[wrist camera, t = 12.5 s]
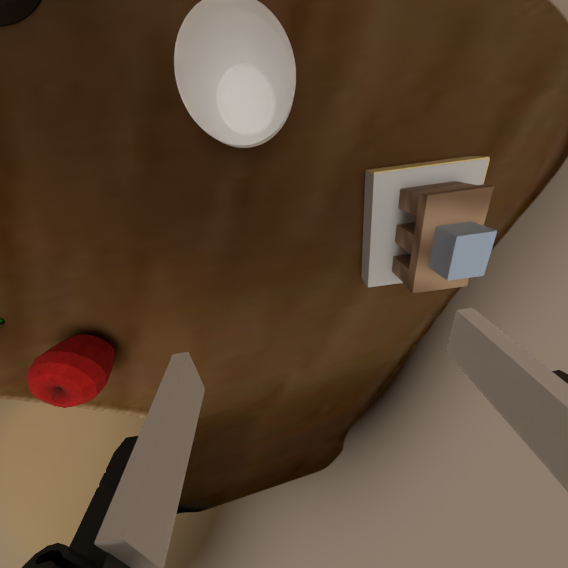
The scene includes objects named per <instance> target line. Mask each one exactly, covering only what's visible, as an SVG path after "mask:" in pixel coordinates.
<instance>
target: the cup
mask: <svg viewBox="0 0 568 568" xmlns="http://www.w3.org/2000/svg"><path fill="white" fill-rule="evenodd" d="M174 69H175V77H176V82H177V86H178V90H179V93H180V96H181V98H182V101H183V103H184V105H185V107H186V109H187V110H188V112H189V114H190V115H191V116H192V118H193V119H194V121H195V122H196V123H197V124H198V125H199V126H200V127H201V128H202V129H203V130H204V131H205V132H206V133H208V134H209V135H211V136H212V137H214V138H215V139H217V140H218V141H220V142H222V143H224V144H227V145H229V146H233V147H238V148H249V147H255V146H258V145H261V144H263V143H265V142H267V141H268V140H270V139H271V138H272V137H274V136H275V135H276V134H277V133H278V132H279V130H280V129H281V128H282V126H283V125H284V123H285V122H286V120H287V118H288V115H289V113H290V110H291V107H292V103H293V98H294V93H295V86H296V67H295V60H294V55H293V51H292V47H291V44H290V42H289V39H288V37H287V35H286V33H285V30H284V29H283V27H282V25H281V24H280V22H279V21H278V19H277V18H276V17H275V16H274V14H273V13H272V12H271V11H270V10H269V9H268V8H267V7H266V6H264V5H263V4H262V3H260V2H259V1H257V0H201V1H200V2H199V3H198V4H196V5H195V6H194V7H193V8H192V9H191V11H190V12H189V13H188V15H187V16H186V18H185V19H184V21H183V23H182V25H181V27H180V30H179V33H178V36H177V40H176V45H175V52H174Z"/></svg>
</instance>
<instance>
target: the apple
mask: <svg viewBox="0 0 568 568" xmlns="http://www.w3.org/2000/svg"><path fill="white" fill-rule="evenodd" d="M114 357H115V352H114V349H113V348H112V346H111V345H110V344H109V343H107V342H106V341H104V340H103V339H101V338H98V337H96V336H92V335H86V334H82V335H76V336H73V337H71V338H69V339H67V340H65V341H63V342H60V343H59V344H57V345H55V346H54V347H52V348H51V349H49V350H48V351H46V352H45V353H43V354H42V355H40V356H39V357H37V358H36V359H35V361H34V362H33V364H32V365H31V367H30V369H29V371H28V373H27V376H26V378H27V382H28V386H29V389H30V392H31V393H32V394H33V395H34V396H35V397H36V398H38V399H40V400H42V401H44V402H46V403H49V404H51V405H54V406H58V407H64V408H66V407H72V406H76V405H80V404H83V403H86V402H88V401H90V400H92V399H93V398H94V397H96V396H97V395H98V394H99V393H100V392H101V390H102V389H103V388H104V386H105V385H106V384H107V381H108V378H109V376H110V373H111V370H112V366H113V362H114Z"/></svg>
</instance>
